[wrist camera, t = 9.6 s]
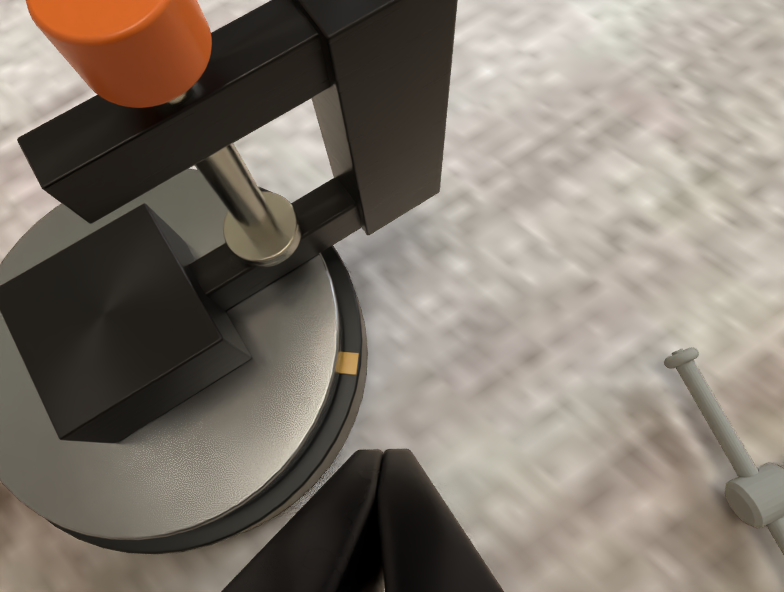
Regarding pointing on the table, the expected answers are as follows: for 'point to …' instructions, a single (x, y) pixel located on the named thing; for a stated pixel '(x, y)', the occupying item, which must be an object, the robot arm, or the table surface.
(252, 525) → the swivel base
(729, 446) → the clamp
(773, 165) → the table surface
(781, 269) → the table surface
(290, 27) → the swivel clamp
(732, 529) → the table surface
